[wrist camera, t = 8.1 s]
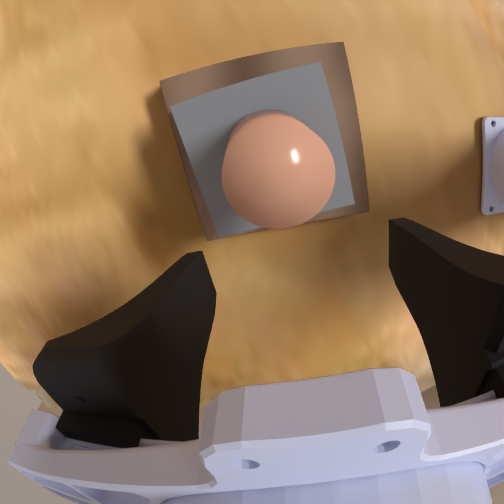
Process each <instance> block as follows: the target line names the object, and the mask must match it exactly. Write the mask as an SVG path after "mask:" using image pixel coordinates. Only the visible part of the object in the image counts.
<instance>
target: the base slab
mask: <svg viewBox="0 0 504 504" xmlns="http://www.w3.org/2000/svg"><path fill="white" fill-rule="evenodd" d="M318 62H321V64H322V67H323V71H324V74H325V78H326V81H327V85H328V88H329V92H330V95H331V99H332V103H333V107H334V110H335V114H336V118H337V122H338V126H339V130H340V135H341V139H342V143H343V148H344V152H345V157H346V161H347V166H348V171H349V176H350V181H351V186H352V191H353V196H354V202H355V204H353V205H349V206H344V207H340V208H336V209H332V210H328V211H324V212H320V213H318V214H316V215H315V216H314V217H313V218H311V219H310V220H308V221H306V222H312V221H318V220H323V219H329V218H335V217H340V216H346V215H352V214H358V213H364V212H369V203H368V192H367V181H366V172H365V163H364V155H363V147H362V140H361V132H360V126H359V119H358V113H357V107H356V101H355V96H354V90H353V85H352V80H351V75H350V70H349V65H348V60H347V56H346V51H345V47H344V43H343V42H336V43H326V44H317V45H309V46H302V47H295V48H289V49H283V50H277V51H272V52H266V53H261V54H256V55H252V56H247V57H242V58H238V59H234V60H230V61H226V62H222V63H218V64H214V65H210V66H207V67H203V68H200V69H196V70H193V71H189V72H186V73H183V74H180V75H177V76H173V77H170V78H167V79H164V80H162V81H159V82H160V86H161V89H162V93H163V97H164V100H165V104H166V107H167V111H168V114H169V118H170V121H171V125H172V128H173V132H174V135H175V139H176V142H177V145H178V149H179V152H180V155H181V159H182V162H183V165H184V169H185V172H186V175H187V179H188V182H189V185H190V188H191V191H192V195H193V198H194V201H195V204H196V207H197V211H198V214H199V217H200V220H201V223H202V226H203V229H204V232H205V235H206V239H207V241H209V240H214V239H220V238H219V236H218V233H217V231H216V228H215V226H214V223H213V220H212V218H211V215H210V213H209V210H208V207H207V205H206V202H205V200H204V197H203V194H202V192H201V189H200V187H199V184H198V181H197V179H196V176H195V173H194V171H193V168H192V165H191V163H190V160H189V157H188V155H187V152H186V149H185V147H184V144H183V141H182V139H181V136H180V133H179V130H178V128H177V125H176V122H175V120H174V117H173V114H172V111H171V109H170V106H173V105H175V104H178V103H180V102H183V101H186V100H188V99H191V98H194V97H197V96H199V95H202V94H205V93H208V92H211V91H214V90H217V89H220V88H223V87H226V86H229V85H232V84H236V83H239V82H242V81H246V80H249V79H252V78H256V77H259V76H263V75H267V74H271V73H274V72H278V71H282V70H286V69H291V68H295V67H299V66H304V65H308V64H313V63H318ZM306 222H304V223H306ZM268 229H269V228H264V227H260V228H256V229H252V230H248V231H244V232H240V233H237V234H233V235H229V236H225V237H230V236H235V235H241V234H246V233H251V232H257V231H262V230H268ZM225 237H221V238H225Z"/></svg>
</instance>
